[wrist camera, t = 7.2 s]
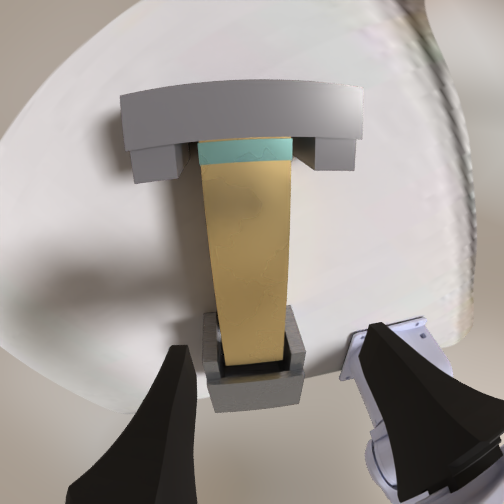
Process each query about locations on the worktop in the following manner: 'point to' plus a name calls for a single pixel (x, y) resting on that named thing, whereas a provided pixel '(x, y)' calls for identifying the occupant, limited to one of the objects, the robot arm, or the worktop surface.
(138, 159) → the socket
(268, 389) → the sleeve
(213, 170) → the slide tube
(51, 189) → the worktop surface
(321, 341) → the worktop surface
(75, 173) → the worktop surface
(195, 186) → the worktop surface
